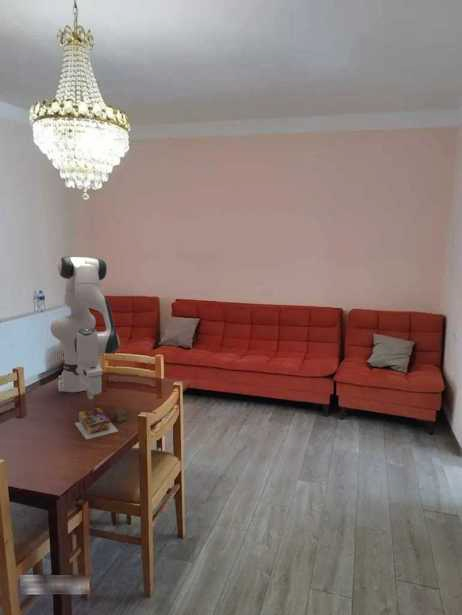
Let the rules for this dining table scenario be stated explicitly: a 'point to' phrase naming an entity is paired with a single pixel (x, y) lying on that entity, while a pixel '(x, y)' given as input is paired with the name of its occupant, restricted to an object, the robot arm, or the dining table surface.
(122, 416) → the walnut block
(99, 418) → the candy box
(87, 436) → the mat
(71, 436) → the dining table surface
